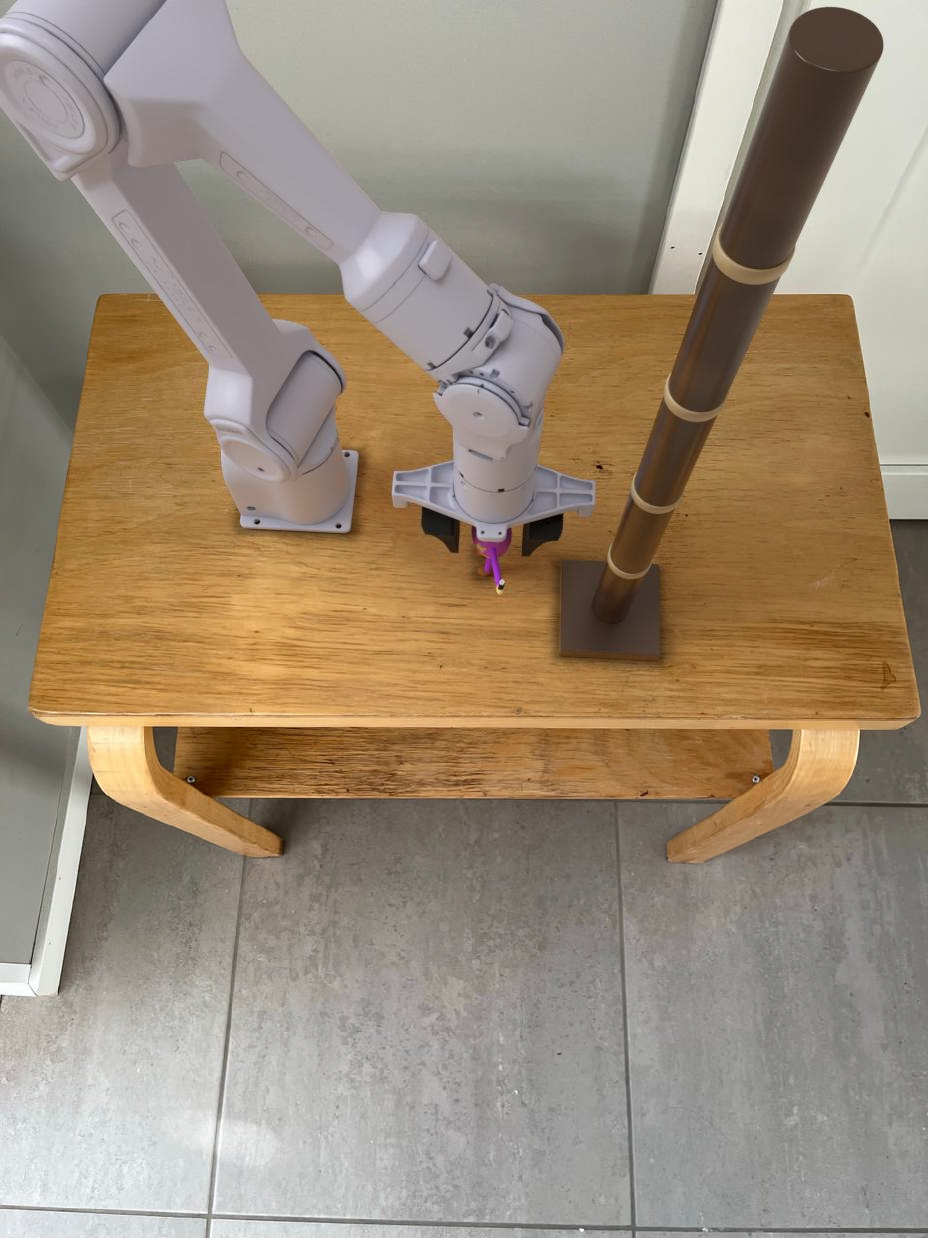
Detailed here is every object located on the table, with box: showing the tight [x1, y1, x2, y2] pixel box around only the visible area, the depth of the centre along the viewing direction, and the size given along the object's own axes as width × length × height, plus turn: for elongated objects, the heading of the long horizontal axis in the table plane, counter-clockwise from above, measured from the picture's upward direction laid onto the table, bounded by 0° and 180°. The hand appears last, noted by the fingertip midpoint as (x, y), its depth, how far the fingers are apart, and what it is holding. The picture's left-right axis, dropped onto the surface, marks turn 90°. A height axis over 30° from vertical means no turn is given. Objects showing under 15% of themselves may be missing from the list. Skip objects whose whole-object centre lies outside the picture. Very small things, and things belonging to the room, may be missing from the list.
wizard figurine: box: [470, 525, 513, 596], centre depth 72 cm, size 11×3×12 cm, turn 9°
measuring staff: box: [558, 6, 885, 662], centre depth 52 cm, size 8×8×50 cm
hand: (490, 543), depth 74 cm, fingers open, 5 cm apart
